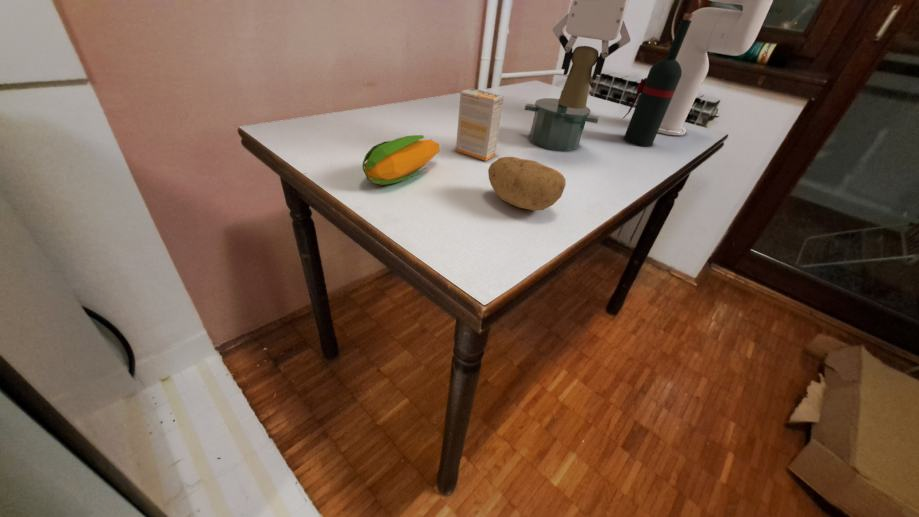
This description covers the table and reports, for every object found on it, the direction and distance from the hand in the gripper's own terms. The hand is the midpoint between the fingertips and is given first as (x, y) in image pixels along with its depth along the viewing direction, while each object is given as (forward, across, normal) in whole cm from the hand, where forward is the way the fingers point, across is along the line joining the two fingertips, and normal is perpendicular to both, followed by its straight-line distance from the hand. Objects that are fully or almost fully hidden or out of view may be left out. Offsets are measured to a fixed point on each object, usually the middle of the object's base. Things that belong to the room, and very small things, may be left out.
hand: (579, 75), depth 75 cm
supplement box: (+18, +18, +8) cm, 27 cm away
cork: (+6, 0, 0) cm, 6 cm away
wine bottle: (+18, -19, -26) cm, 37 cm away
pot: (+18, +2, -11) cm, 21 cm away
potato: (+18, +4, +27) cm, 33 cm away
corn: (+18, +28, +26) cm, 42 cm away
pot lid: (+10, +2, -11) cm, 15 cm away
